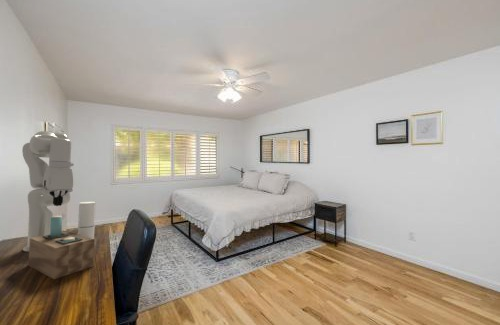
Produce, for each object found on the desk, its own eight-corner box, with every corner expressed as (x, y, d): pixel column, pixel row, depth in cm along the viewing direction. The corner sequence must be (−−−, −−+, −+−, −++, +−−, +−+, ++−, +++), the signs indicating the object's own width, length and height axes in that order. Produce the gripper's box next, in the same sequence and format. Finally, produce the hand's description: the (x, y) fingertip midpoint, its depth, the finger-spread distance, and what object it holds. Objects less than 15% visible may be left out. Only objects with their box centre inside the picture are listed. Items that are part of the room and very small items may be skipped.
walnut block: (54, 279, 88) (55, 246, 88) (28, 265, 99) (29, 237, 100) (93, 266, 100) (94, 237, 101) (66, 255, 112) (67, 230, 112)
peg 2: (59, 267, 96) (61, 239, 97) (70, 264, 100) (72, 236, 100) (64, 269, 94) (66, 240, 95) (75, 266, 98) (76, 238, 98)
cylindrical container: (84, 252, 116) (87, 203, 117) (73, 251, 117) (75, 203, 118) (96, 248, 123) (98, 201, 124) (85, 246, 124) (88, 201, 125)
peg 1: (47, 243, 102) (49, 216, 103) (58, 241, 106) (60, 215, 106) (52, 245, 100) (53, 217, 101) (62, 242, 104) (64, 216, 104)
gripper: (74, 165, 112) (72, 203, 112) (35, 164, 99) (32, 206, 99) (82, 165, 109) (80, 204, 108) (42, 164, 96) (40, 208, 95)
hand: (57, 205), depth 103 cm, fingers closed
